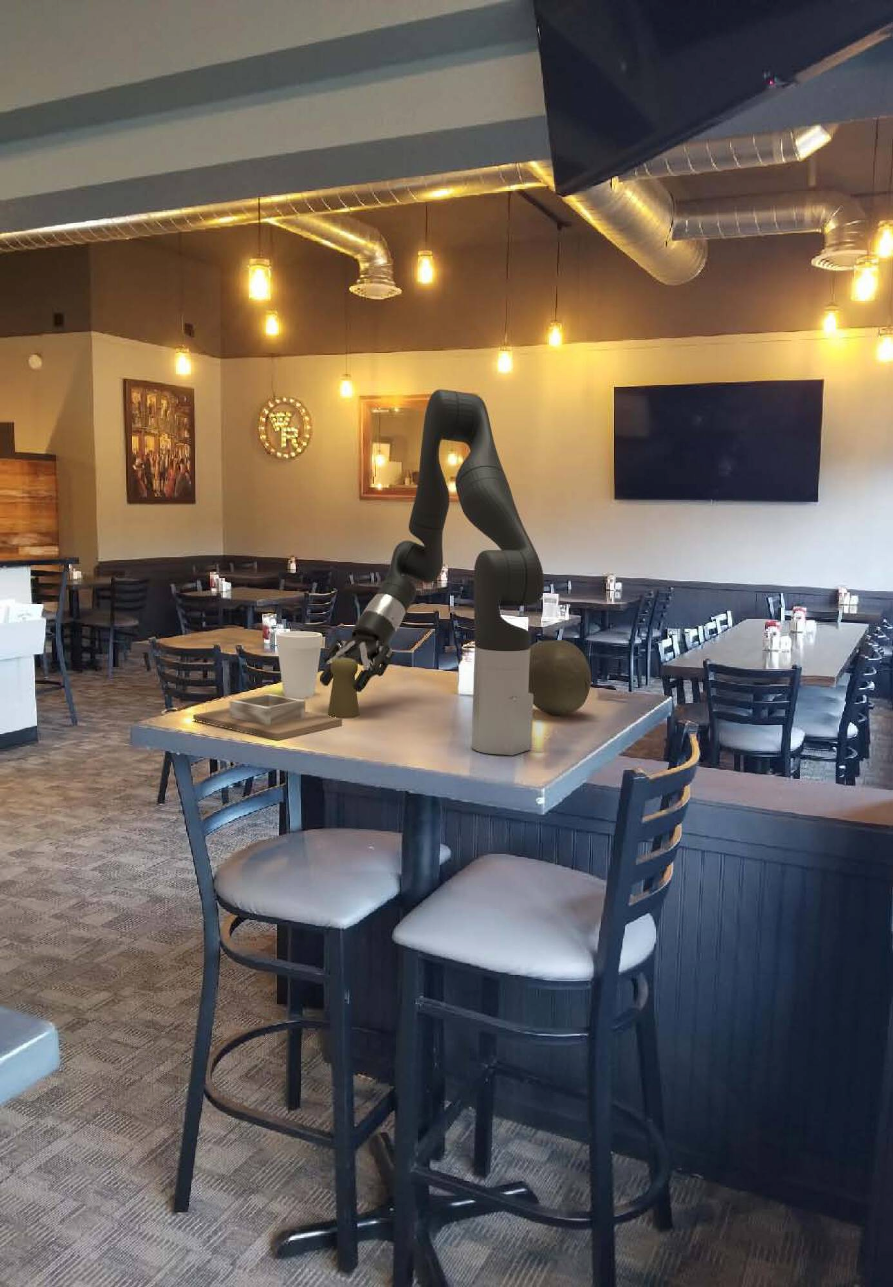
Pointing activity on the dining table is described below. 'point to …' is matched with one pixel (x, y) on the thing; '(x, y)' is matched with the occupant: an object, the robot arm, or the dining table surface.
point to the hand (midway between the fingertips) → (339, 686)
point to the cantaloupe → (558, 677)
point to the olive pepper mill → (343, 689)
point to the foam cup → (299, 662)
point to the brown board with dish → (269, 717)
